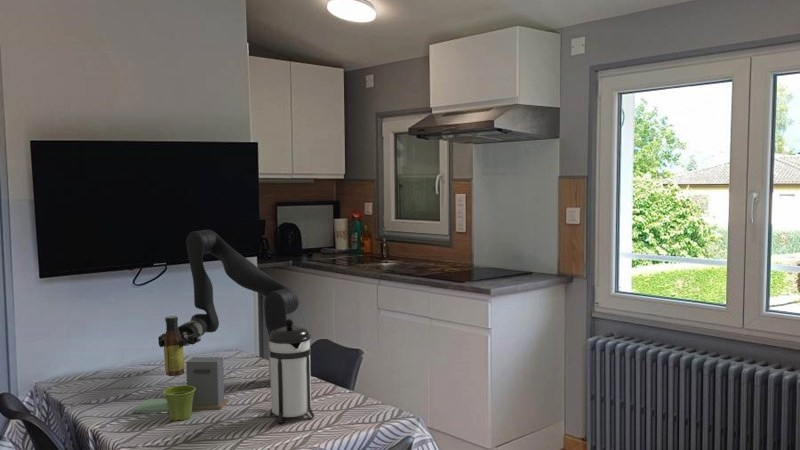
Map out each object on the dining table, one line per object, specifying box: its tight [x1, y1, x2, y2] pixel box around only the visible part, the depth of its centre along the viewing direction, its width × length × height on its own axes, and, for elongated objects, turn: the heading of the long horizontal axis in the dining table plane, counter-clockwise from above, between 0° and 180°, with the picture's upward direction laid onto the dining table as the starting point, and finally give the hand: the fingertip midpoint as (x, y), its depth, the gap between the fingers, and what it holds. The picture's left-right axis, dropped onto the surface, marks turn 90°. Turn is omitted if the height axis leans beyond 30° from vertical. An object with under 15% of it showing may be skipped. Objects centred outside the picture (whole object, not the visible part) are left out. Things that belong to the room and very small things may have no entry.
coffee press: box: [267, 319, 315, 425], centre depth 206 cm, size 17×16×30 cm
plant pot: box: [162, 384, 196, 422], centre depth 206 cm, size 9×9×9 cm
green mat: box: [133, 398, 169, 414], centre depth 216 cm, size 11×11×1 cm
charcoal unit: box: [185, 356, 229, 411], centre depth 217 cm, size 12×8×15 cm, turn 87°
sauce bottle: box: [163, 315, 186, 377], centre depth 230 cm, size 7×6×20 cm
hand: (170, 344), depth 227 cm, fingers closed on sauce bottle, 6 cm apart
